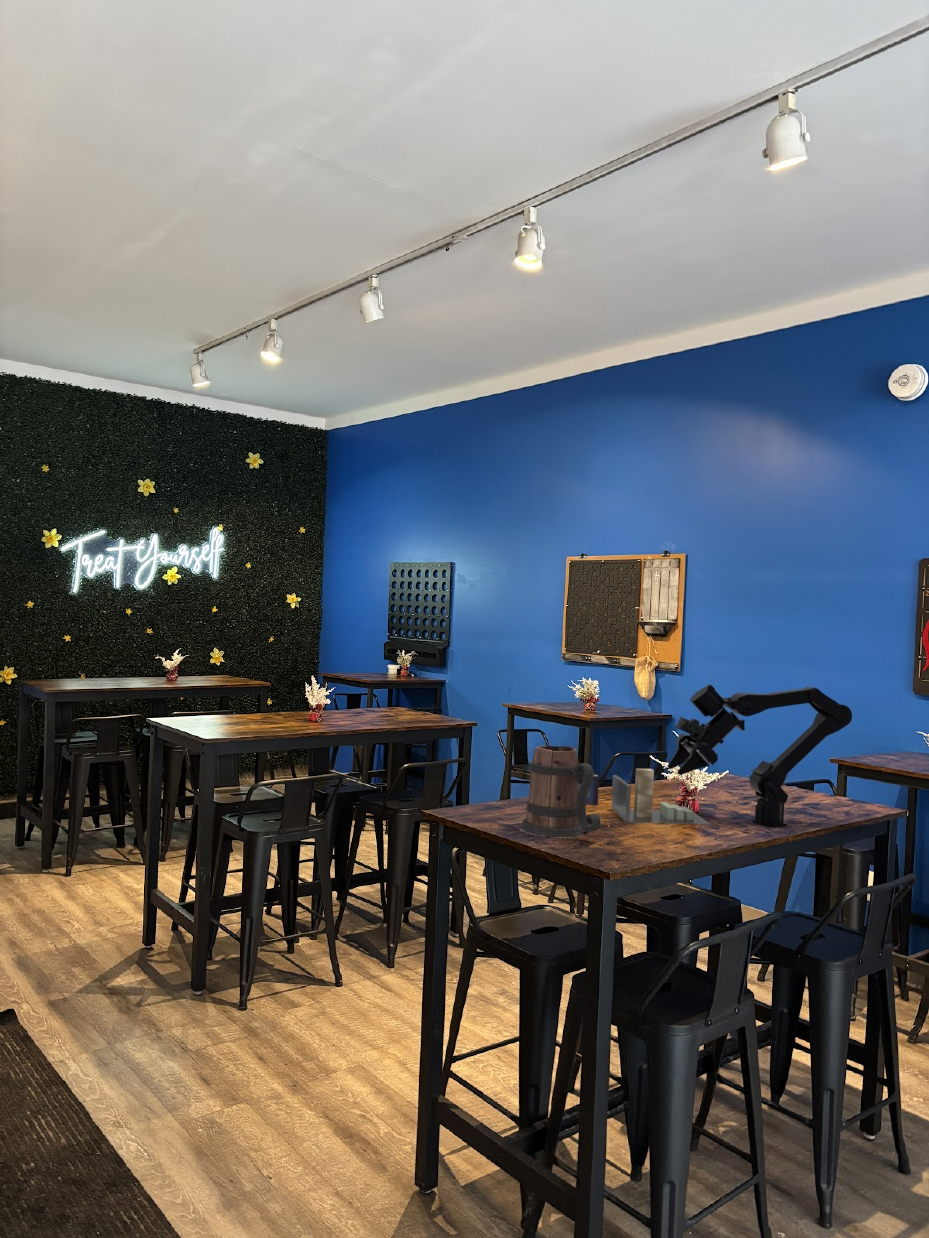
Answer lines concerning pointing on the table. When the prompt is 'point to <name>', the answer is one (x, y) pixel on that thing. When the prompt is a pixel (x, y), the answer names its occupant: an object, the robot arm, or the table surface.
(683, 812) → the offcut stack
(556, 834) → the tankard
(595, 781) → the flask
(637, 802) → the birch block
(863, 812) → the table surface
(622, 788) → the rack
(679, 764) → the robot arm
